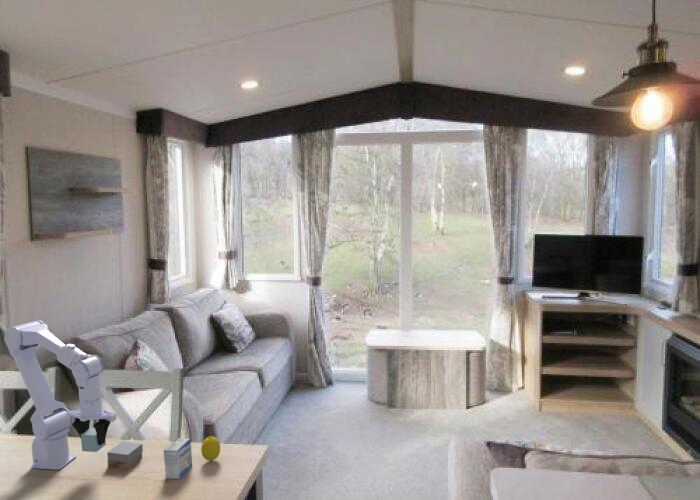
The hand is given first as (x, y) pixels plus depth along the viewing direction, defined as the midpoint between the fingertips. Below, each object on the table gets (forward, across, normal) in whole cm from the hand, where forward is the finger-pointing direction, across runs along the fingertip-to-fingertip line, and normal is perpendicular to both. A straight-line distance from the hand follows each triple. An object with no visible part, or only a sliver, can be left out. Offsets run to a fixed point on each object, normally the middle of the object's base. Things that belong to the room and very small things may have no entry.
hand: (93, 443), depth 154 cm
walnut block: (+9, +5, +6) cm, 13 cm away
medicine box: (+9, +24, +4) cm, 26 cm away
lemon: (+9, +31, +11) cm, 34 cm away
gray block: (+7, +6, +7) cm, 11 cm away
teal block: (+1, 0, 0) cm, 1 cm away
